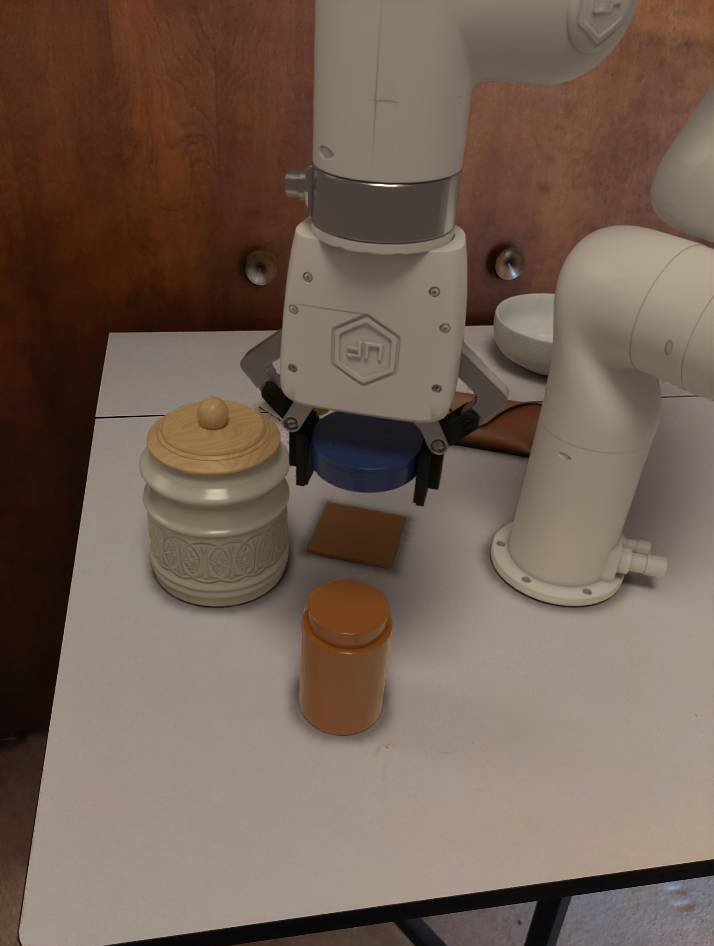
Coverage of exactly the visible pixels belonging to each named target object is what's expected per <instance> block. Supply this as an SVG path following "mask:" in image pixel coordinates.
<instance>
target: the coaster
mask: <svg viewBox="0 0 714 946" xmlns="http://www.w3.org/2000/svg"><path fill="white" fill-rule="evenodd" d="M406 520H407V516H405V515H400V514H395V513H389V512H384V511H379V510H374V509H370V508H369V509H368V508H363V507H359V506H358V507H357V506H353V505H349V504H347V505H346V504H343V503H337V502H331V501H327V502H326V505H325V507H324V509H323V511H322V513H321V515H320V518H319V520H318V522H317V525H316V527H315V529H314V531H313V534H312V536H311V538H310V540H309V543H308V544H307V546H306V549H305V552H306V553H308V554H314V555H318V556H322V557H328V558H332V559H337V560H343V561H348V562H353V563H357V564H362V565H367V566H373V567H378V568H383V569H387V570H391V568H392V566H393V561H394V558H395V556H396V551H397V548H398V545H399V542H400V539H401V536H402V532H403V530H404V526H405V523H406Z"/></svg>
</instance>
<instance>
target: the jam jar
mask: <svg viewBox="0 0 714 946" xmlns="http://www.w3.org/2000/svg"><path fill="white" fill-rule="evenodd" d="M391 615H392V614H391V613H390V605H389V602H388V599H387V598H386V596H385V595H384V593H383V592H382V591H380V589H378V588H377V587H375V586H374V585H373V584H370V583H368V582H365V581H362V580H358V579H352V578H351V579H350V578H342V579H334V580H330V581H327V582H325V583H323V584H321V585H319V586H318V587H316V588H315V589H314V590H313V591H312V592H311V593H310V594H309V595H308V598H307V600H306V607H305V608H304V610H303V612H302V616H301V635H300V637H301V638H300V661H299V662H300V664H299V687H298V688H299V691H298V692H299V693H298V704H299V709H300V712H301V714H302V716H303V717H304V719H305V720H306V721H307V722H308V723H309V724H310V725H311V726H312V727H314V728H315V729H317V730H319V731H321V732H324V733H326V734H330V735H335V736H350V735H356V734H359V733H362V732H364V731H366V730H368V729H369V728H370V727H372V726H373V725H374V724H375V723H376V721H377V720H378V719H379V717H380V715H381V713H382V709H383V701H384V693H385V686H386V678H387V672H388V664H389V657H390V650H391V641H392V635H393V628H394V627H393V626H394V625H393V618H392V616H391Z"/></svg>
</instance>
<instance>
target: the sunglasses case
mask: <svg viewBox="0 0 714 946" xmlns="http://www.w3.org/2000/svg"><path fill="white" fill-rule="evenodd" d="M475 396H476V394H475V393H471V392H464V391H457V390H456V391H455V395H454V399H453V402H452V405H451V407H450V409H449V412H450V413H451V412H452V411H454V410H455V409H457V408H458V407H460V406H461V405H463V404H465V403H467V402H470V401H471V400H473V398H474V397H475ZM542 403H543V402H542ZM542 403H541V402H539V401H538V402H537V401H518V400H512V399H508V402H507V405H506V406H505V407H503V408H502V409H501V410H500V411H498V412H497V413H496V414H494V415H493V416H492V417H490V418H489V419H488V420H486V421H484V422H482V423H481V424H480V425H478V428H477V429H476V430H475V431H473V432H472V433H470V434H469V435H467V436H465V437H464V438H462V439H461V440H459V441H457V442H456V443H454V444H453V445H459V446H463V447H467V448H468V447H469V448H473V449H479V450H484V451H490V452H496V453H502V454H503V453H504V454H510V455H516V456H517V455H518V456H527V457H530V453H531V448H532V444H533V440H534V436H535V432H536V427H537V423H538V419H539V415H540V411H541V407H542ZM414 423H415V424H416V425H417V426H418V428H419V429H420V427H419V425H418V423H416V422H414ZM420 431H421V430H420ZM422 435H423V434H422ZM423 438H424V436H423Z"/></svg>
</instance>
